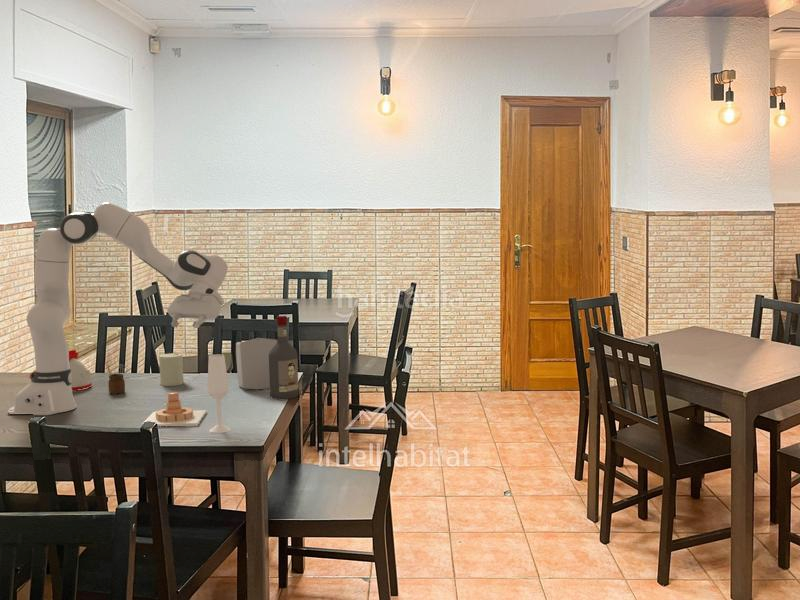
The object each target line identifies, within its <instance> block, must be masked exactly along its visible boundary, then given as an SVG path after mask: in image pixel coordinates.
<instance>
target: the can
mask: <svg viewBox="0 0 800 600" xmlns="http://www.w3.org/2000/svg"><path fill="white" fill-rule="evenodd" d="M158 359H159V375H160V377H159V378H160V383H159V384H160V385H161V386H164V387H174V386H180V385H183V384H184V383H185V382H184V371H183V370H184V368H183V367H184V366H183V354H182V353H179V352H178V353H176V352H174V353H173V352H170V353H164V354H160V355H159V356H158Z"/></svg>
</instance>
